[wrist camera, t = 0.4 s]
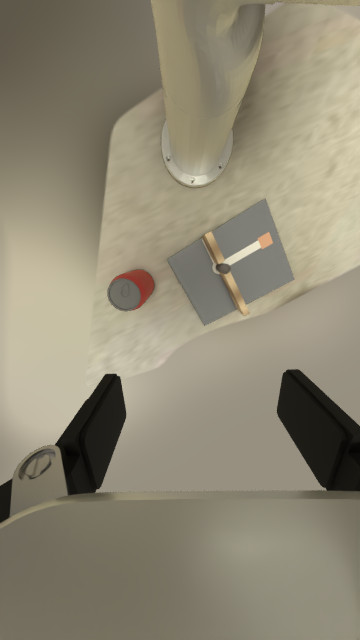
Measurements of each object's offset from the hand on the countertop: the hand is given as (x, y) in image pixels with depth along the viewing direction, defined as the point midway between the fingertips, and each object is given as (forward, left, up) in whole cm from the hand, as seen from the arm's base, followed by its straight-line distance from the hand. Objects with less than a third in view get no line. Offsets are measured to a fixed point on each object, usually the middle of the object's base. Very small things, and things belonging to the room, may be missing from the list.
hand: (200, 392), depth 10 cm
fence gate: (-2, +9, -31) cm, 33 cm away
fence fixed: (-9, +4, -32) cm, 33 cm away
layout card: (-6, +9, -33) cm, 34 cm away
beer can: (0, -11, -33) cm, 35 cm away
